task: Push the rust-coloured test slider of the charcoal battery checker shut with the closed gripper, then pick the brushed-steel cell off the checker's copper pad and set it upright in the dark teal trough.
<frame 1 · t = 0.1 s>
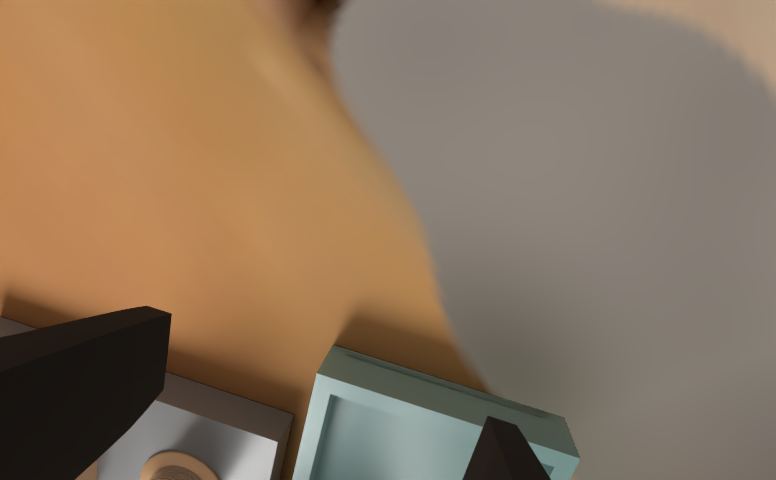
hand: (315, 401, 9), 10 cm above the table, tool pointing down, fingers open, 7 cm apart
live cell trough: (414, 471, 21), on the table
battery checker: (135, 434, 23), on the table
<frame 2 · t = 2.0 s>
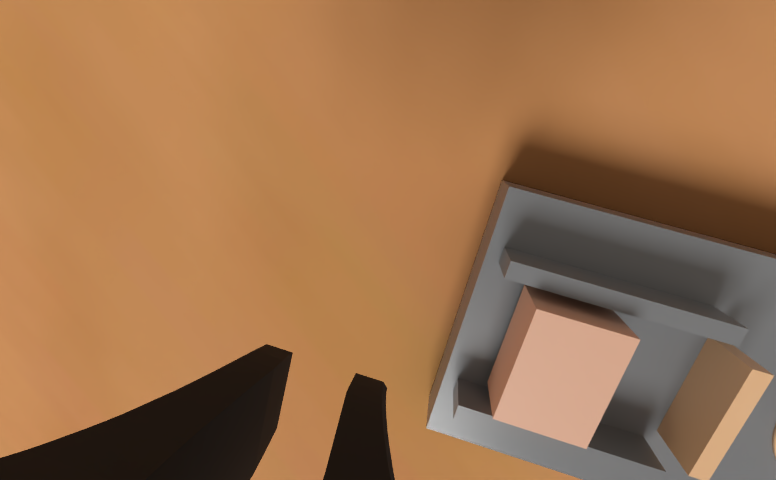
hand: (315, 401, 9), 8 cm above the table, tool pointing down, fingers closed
battery checker: (684, 364, 16), on the table
test slider: (554, 363, 13), point 3 cm above the table, slide at 3.0 cm
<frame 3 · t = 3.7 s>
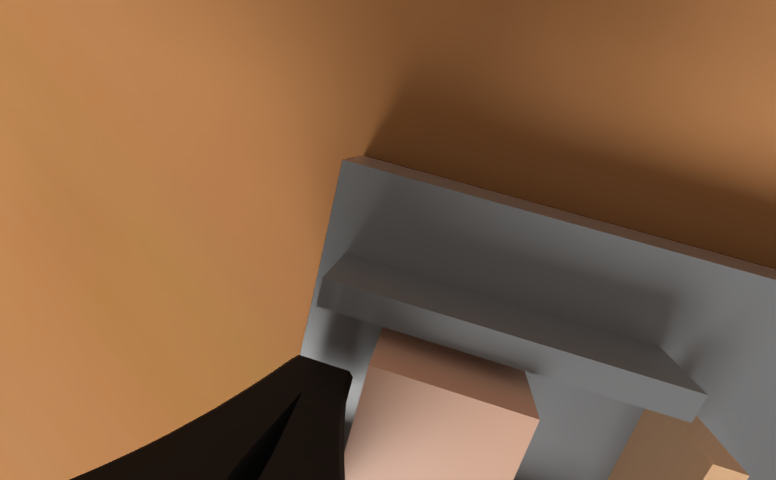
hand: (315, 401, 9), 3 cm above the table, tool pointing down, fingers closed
battery checker: (631, 419, 11), on the table
test slider: (424, 440, 8), point 3 cm above the table, slide at 2.7 cm, touching gripper
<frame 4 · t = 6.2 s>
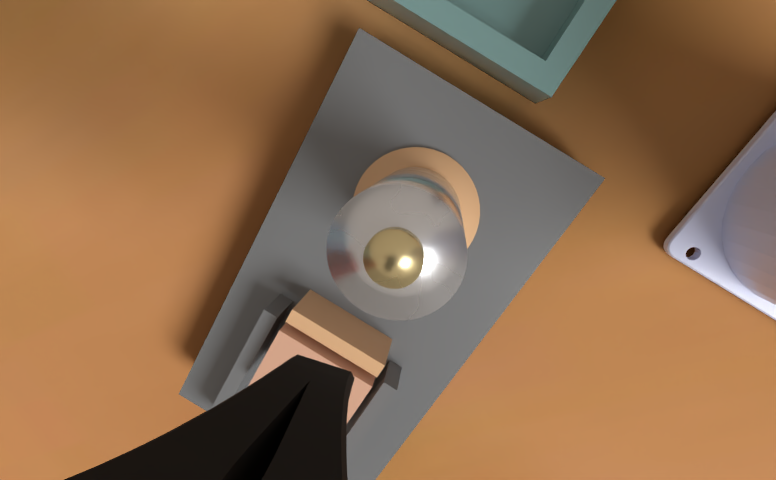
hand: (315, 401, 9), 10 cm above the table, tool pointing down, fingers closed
steel cell: (414, 212, 15), point 2 cm above the table, touching battery checker
battery checker: (367, 285, 18), on the table
test slider: (316, 372, 16), point 3 cm above the table, slide at -0.1 cm
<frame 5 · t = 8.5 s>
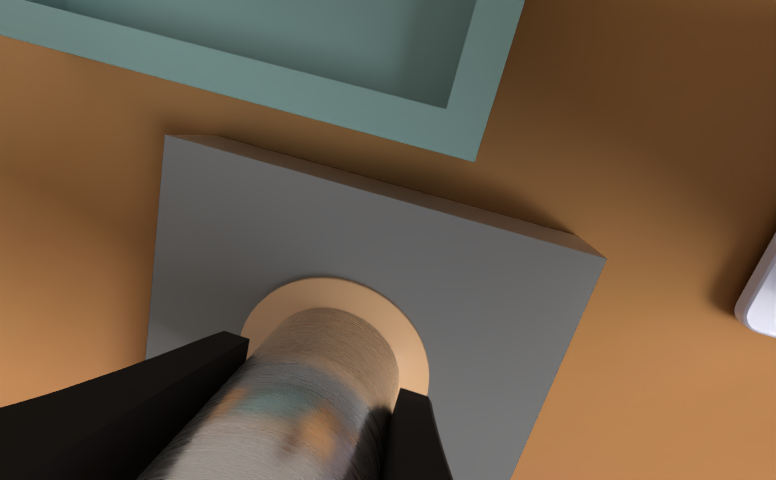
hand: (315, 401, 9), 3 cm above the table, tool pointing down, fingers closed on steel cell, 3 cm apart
steel cell: (330, 372, 10), point 2 cm above the table, touching battery checker, gripper
battery checker: (321, 448, 13), on the table
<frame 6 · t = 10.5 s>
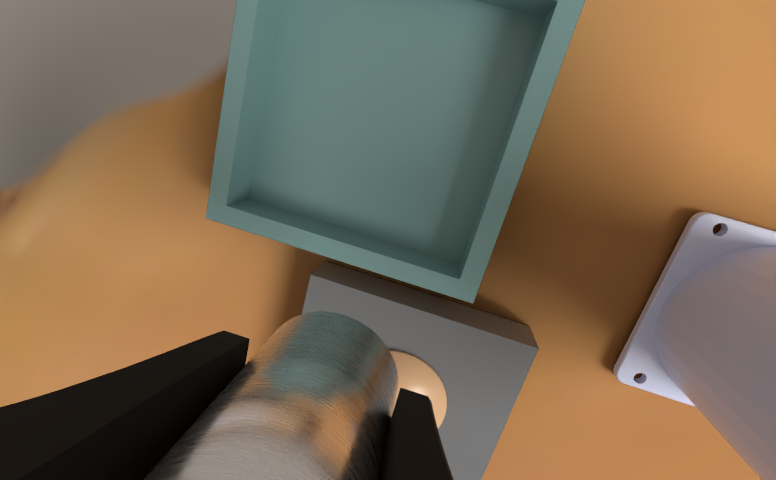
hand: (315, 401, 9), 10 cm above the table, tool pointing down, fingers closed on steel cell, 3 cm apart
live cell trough: (382, 119, 17), on the table
steel cell: (329, 375, 10), point 9 cm above the table, touching gripper
battery checker: (376, 442, 21), on the table
when the fingers open (3 cm above the table, at t = 12.6 s): steel cell drops 1 cm, resting on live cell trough.
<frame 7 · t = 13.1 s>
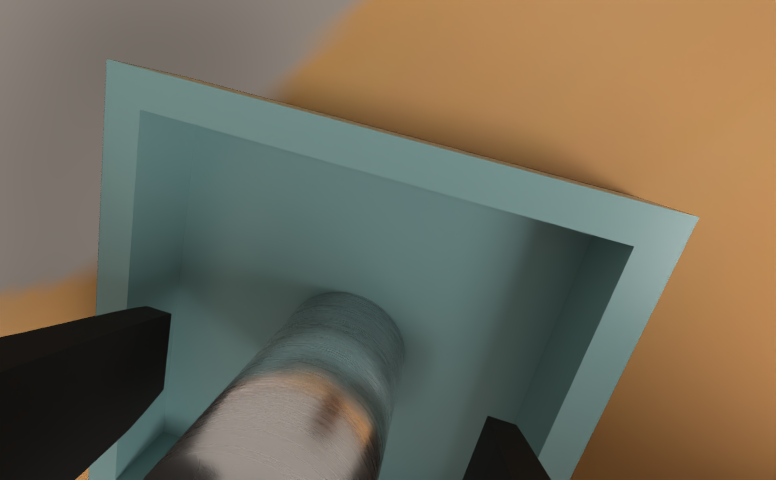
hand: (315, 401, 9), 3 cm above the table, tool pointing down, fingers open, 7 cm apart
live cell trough: (349, 334, 11), on the table
steel cell: (343, 349, 11), point 1 cm above the table, touching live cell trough
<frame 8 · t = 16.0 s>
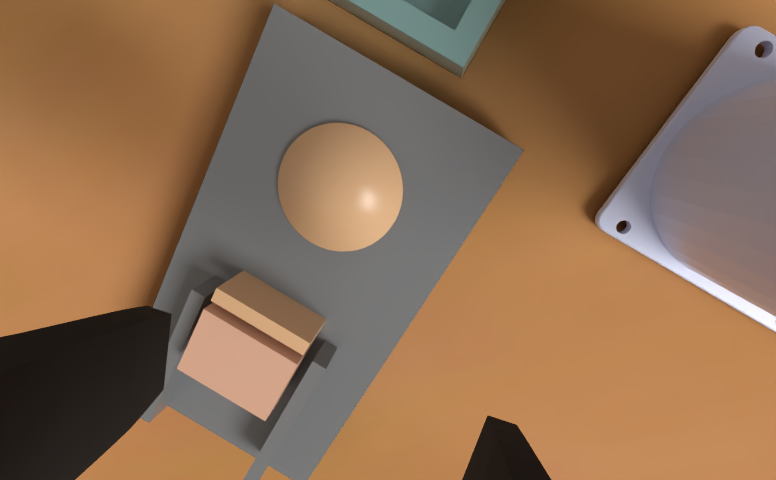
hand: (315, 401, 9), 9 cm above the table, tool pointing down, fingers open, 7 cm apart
battery checker: (308, 268, 18), on the table
test slider: (248, 352, 16), point 3 cm above the table, slide at -0.1 cm
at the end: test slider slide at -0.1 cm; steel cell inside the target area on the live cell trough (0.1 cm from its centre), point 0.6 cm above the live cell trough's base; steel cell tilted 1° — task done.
